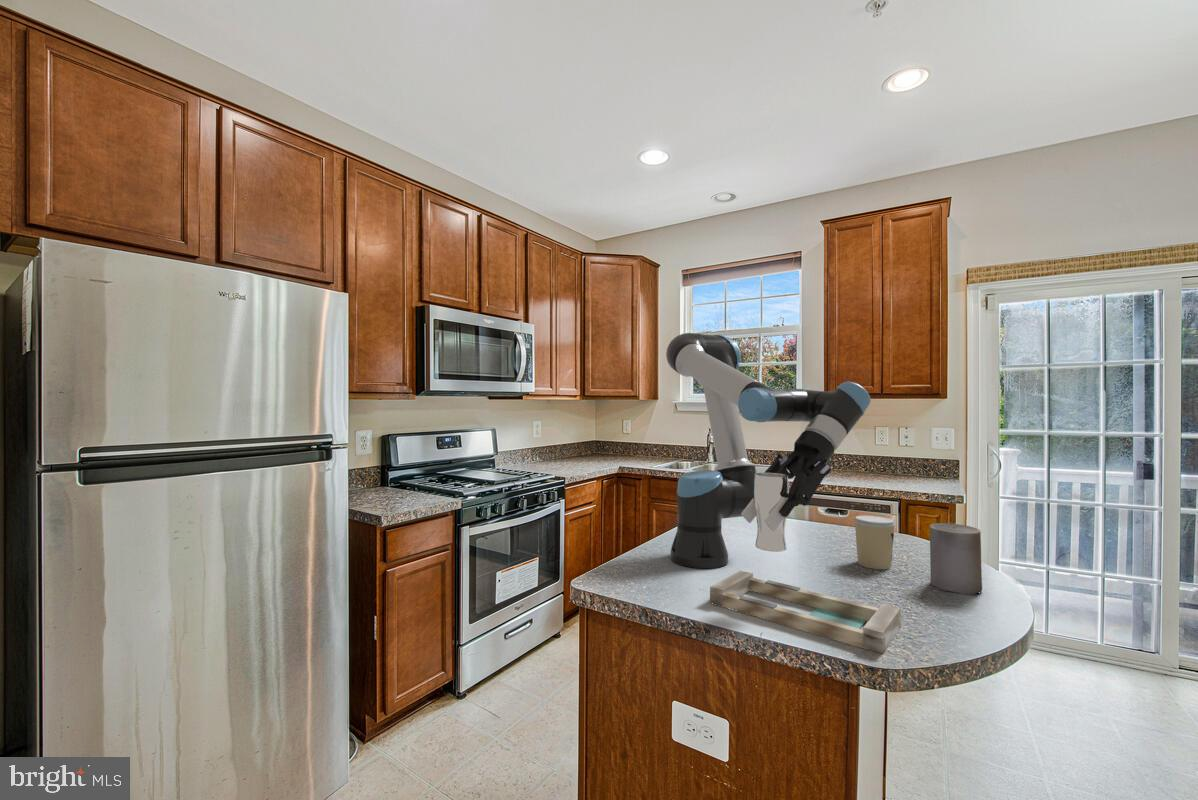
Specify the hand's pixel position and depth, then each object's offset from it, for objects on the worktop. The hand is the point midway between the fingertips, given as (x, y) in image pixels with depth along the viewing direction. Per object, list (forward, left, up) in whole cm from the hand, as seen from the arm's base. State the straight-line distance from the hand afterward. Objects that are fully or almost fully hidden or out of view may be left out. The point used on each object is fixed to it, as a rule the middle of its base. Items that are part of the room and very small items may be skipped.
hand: (757, 522), depth 102 cm
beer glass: (+2, +3, -6) cm, 7 cm away
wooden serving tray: (+8, +3, -18) cm, 19 cm away
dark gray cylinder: (+29, +43, -18) cm, 55 cm away
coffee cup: (+11, +49, -18) cm, 53 cm away
